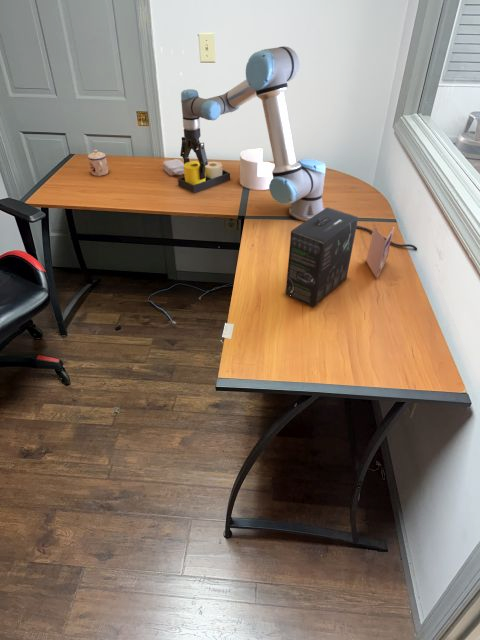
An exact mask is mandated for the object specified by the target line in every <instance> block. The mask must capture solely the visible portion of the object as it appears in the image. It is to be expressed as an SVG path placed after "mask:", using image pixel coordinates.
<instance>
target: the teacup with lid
mask: <svg viewBox="0 0 480 640" xmlns="http://www.w3.org/2000/svg"><path fill="white" fill-rule="evenodd" d="M87 159H88V162H89V166H90V172H91V175H93V176H96V177H100V176H101V177H102V176H106V175H107V174H108V173H109V166H108V161H107V155H106V153H105V152H101V151H98V149H93V151H92V152H91V153H89V154H88V155H87Z"/></svg>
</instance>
